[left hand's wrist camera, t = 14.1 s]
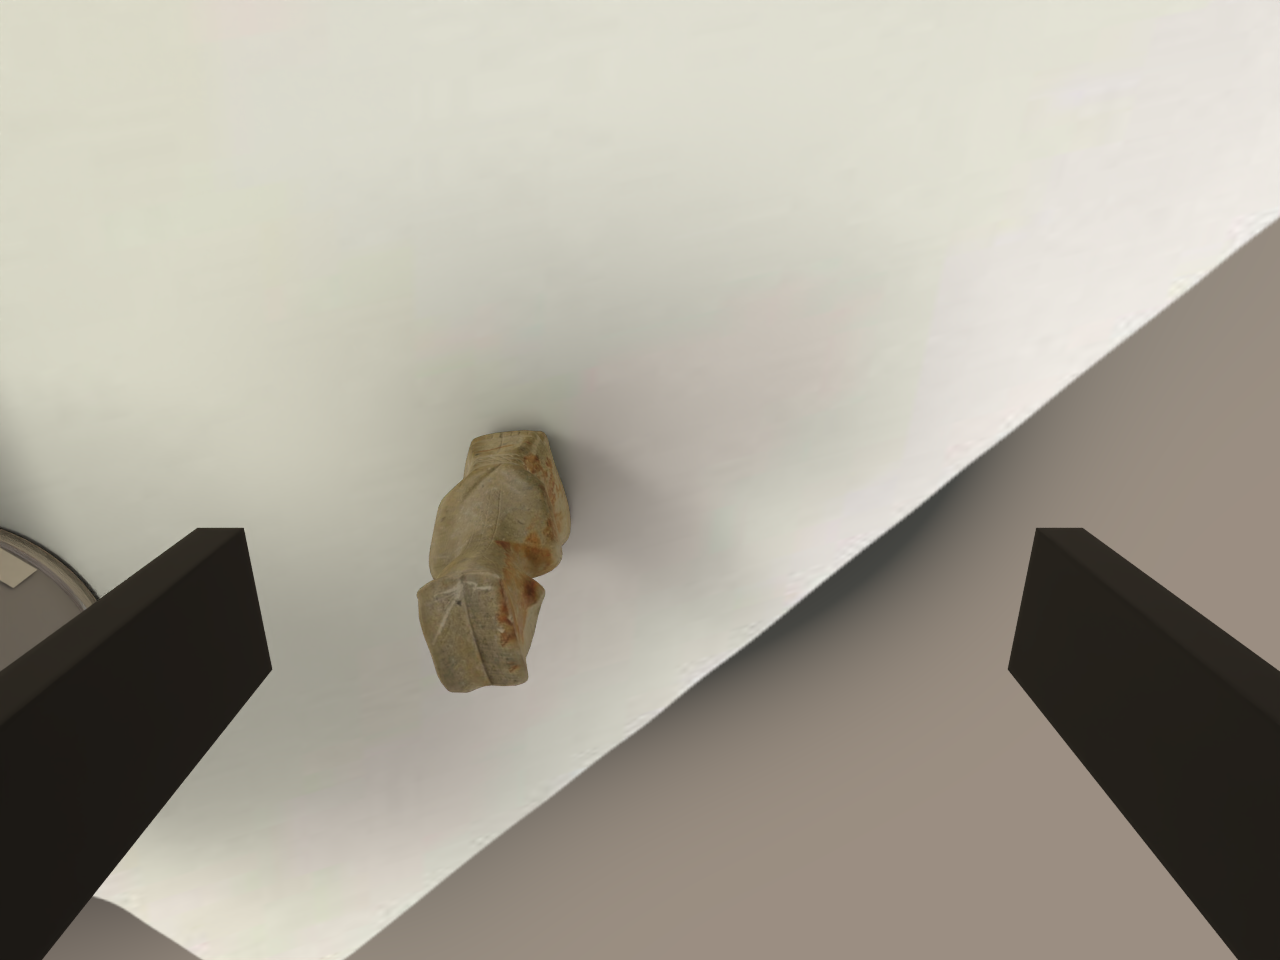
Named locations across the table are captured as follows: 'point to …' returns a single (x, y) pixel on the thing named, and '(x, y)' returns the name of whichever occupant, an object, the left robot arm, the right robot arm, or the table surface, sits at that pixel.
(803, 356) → the table surface
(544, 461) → the sculpture
